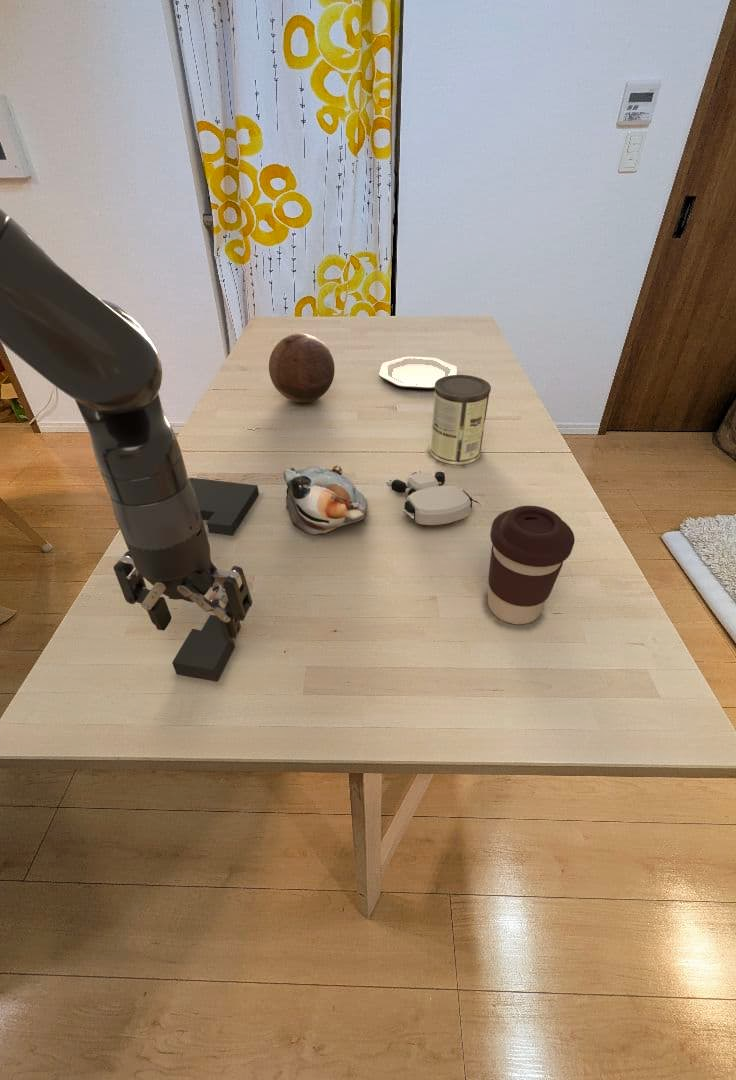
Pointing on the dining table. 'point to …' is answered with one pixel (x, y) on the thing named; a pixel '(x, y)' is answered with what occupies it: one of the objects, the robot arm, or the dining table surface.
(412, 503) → the robot toy
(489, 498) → the dining table surface
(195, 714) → the dining table surface
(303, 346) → the wooden sphere
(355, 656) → the dining table surface
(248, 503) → the base pad
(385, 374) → the plate
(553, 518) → the coffee cup
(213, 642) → the black pad
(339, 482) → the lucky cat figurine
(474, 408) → the coffee can
